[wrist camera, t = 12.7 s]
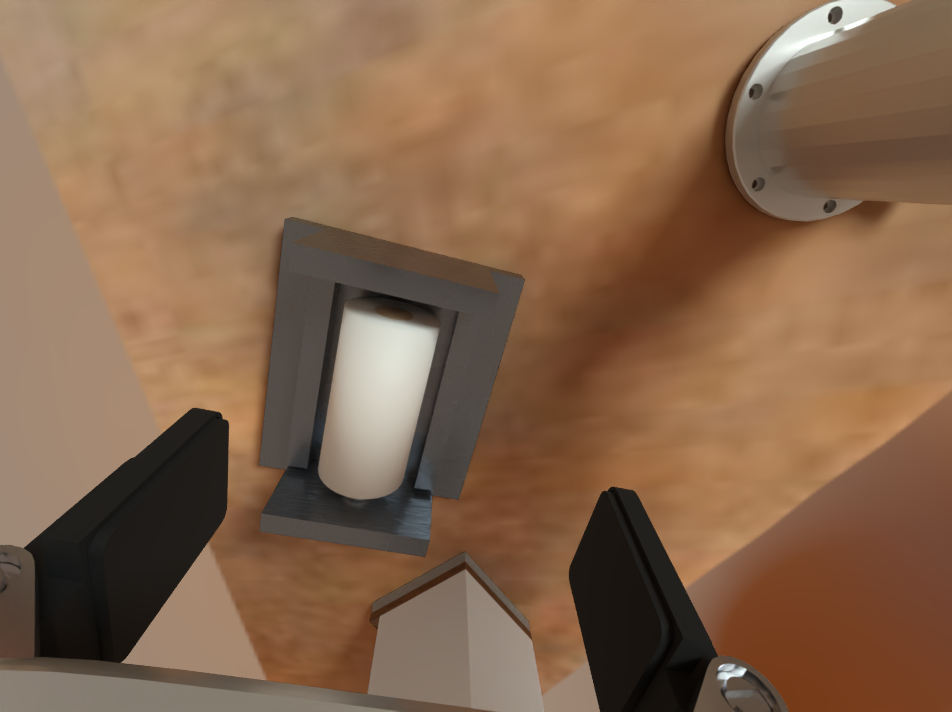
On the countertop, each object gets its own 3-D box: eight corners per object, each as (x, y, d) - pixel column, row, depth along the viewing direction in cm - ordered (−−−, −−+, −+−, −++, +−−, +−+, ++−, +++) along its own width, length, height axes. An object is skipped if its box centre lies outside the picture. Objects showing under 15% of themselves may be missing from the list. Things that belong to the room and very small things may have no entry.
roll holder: (521, 275, 32) (543, 304, 24) (458, 488, 38) (460, 562, 31) (292, 217, 30) (240, 229, 22) (266, 454, 36) (219, 525, 29)
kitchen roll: (448, 314, 31) (430, 339, 25) (412, 459, 35) (390, 509, 29) (364, 290, 31) (327, 310, 25) (338, 438, 35) (302, 484, 29)
